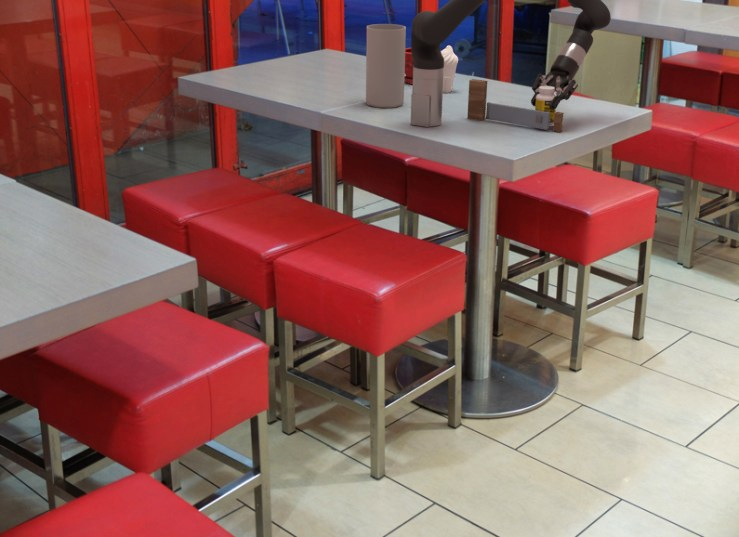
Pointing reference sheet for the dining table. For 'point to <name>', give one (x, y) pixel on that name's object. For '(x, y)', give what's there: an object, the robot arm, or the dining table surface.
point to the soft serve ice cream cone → (449, 68)
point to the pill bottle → (546, 101)
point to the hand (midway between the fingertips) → (542, 106)
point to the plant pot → (408, 66)
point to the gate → (518, 115)
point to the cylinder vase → (385, 65)
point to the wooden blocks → (479, 104)
